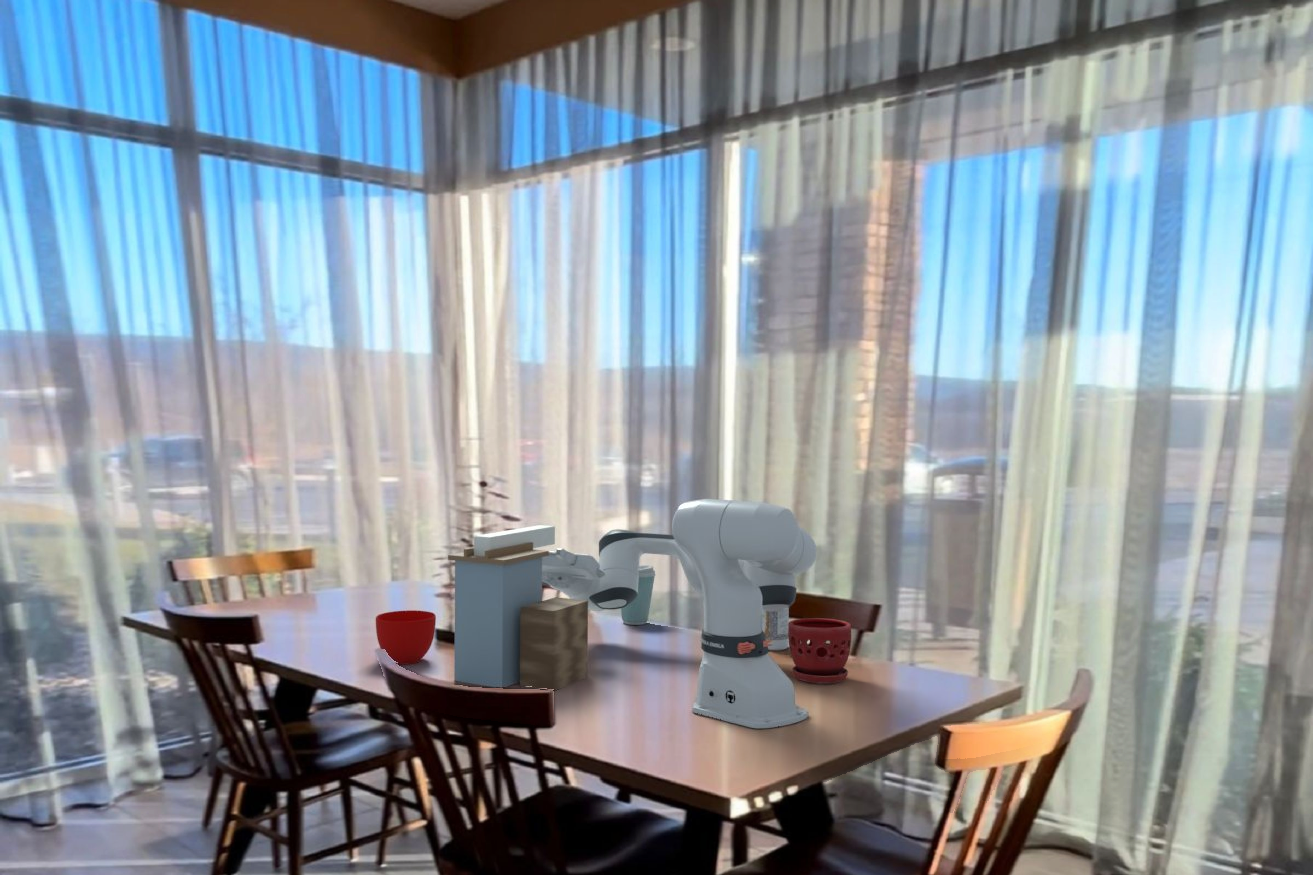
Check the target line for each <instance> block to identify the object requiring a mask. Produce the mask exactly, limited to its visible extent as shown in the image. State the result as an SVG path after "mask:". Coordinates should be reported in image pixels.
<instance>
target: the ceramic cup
mask: <svg viewBox="0 0 1313 875" xmlns="http://www.w3.org/2000/svg"><path fill="white" fill-rule="evenodd" d="M436 616H437V615H436V614H435V613H434V612H430V611H426V610H413V609H412V610H411V609H410V610H409V609H408V610H395V611H388V612H384V613H383V612H382V613H380V614H378V615H376V616H375V631H376V638H377V642H378V645H379V646H378V647H379V648H380V650H381V649H385V650H386V652H387V653H388V655H389V656H390V657H391V658H392V659H393V660H394V661H396V662H398V664H397V665H410V664H411V665H412V664H416V663H419V662H421V661H422V660H423V658H424V657H425V656H426V655H427V653H428V652H429V650H430V649H431V646H432V645H433V641H434V637H435V633H436V620H437V617H436Z"/></svg>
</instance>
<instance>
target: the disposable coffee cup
mask: <svg viewBox="0 0 1313 875" xmlns="http://www.w3.org/2000/svg"><path fill="white" fill-rule="evenodd" d="M638 576H639V581H638V595H637V597H636V599H635V600H634V601H633V602H631V603H630V604H629V605H627V606H625V607H623V608H620V615H621V616H620V617H621V620H622V623H623V624H626V625H631V626H634V625H638V626H641V625H645V624H647V622H648V620H649V617H650V616H649V615H650V610H651V609H650V608H651V602H652V594H653V589H654V583H655V582H654V581H655V576H656V570H654V566H653V565H639V574H638Z"/></svg>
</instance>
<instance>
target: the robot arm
mask: <svg viewBox="0 0 1313 875" xmlns="http://www.w3.org/2000/svg"><path fill="white" fill-rule="evenodd" d="M796 517H797V516H796V515H795V514H794V513H793V512H792V510H790V509H789V508H786V507H783V506H780V505H777V504H772V503H768V502H760V501H747V500H746V501H744V500H731V499H729V500H728V499H714V498H702V499H695V500H691V501H689V500H688V501H685V502H683V503H682V504H681V505H680V506H678V508H677V509H676V510H675V513H674V515H673V518H672V521H671V522H672V523H671V533H672V534H669V533H668V534H666V533H664V534H663V533H652V532H651V533H650V532H637V531H632V530H626V529H619V528H618V529H611V530H609V531H608V532H607V533H605V534H604V535H603V536H602V537H601V539H599V541H598V557H599V558H598V559H599V560H597V559H596V558H595V557H594V556H593V555H589V554H586V553H575V552H570V551H568V550H566V549H564V548H559V547H558V548H556V551H550V550H548V551H549V556H544V557H542V586H546V587H549V588H552V589H554V590H556V591H558V592H561V593H562V594H564V595H565V596H568V597H569V599H577V600H586V601H588V611H592V612H601V611H604V610H618V609H620V610H621V608H623V607H625V606H627V605H629V604H630V603H631V602H633V601H634V600H635V599H636V597H637V595H638V581H639V576H638V574H639V566H640V558H641V556H643V555H644V554H649V555H651V554H652V555H663V556H673V557H676V558H678V560H679V563H680V564H681V567H682V569H683V572H684V575H685V577H686V579H687V581H688V582H689V584H690V586H691V587H692V589H694V591H695V592H697V593H698V594H699V595H700V596H701V595H702V599H703V629H702V630H701V637H700V642H701V644H700V645H701V647H700V648H701V650H702V651H703V653H702V659H701V662H700V666H699V669H698V678H697V688H696V695H695V696H696V697H695V699H694V702H693V705H692V708H691V709H692V710H691V712H692V713H694V714H697V713H698V715H701V714H702V716H706V717H708V716H709V718H712V717H713V719H716V718H717V720H720V719H721V721H725V722H727V723H732V724H734V725H735V724H736V725H739V726H744V727H748V728H751V729H770V728H771V729H772V728H778V726H779V727H784V726H789V725H792V724H795V723H798V722H801V721H803V720H805V719H807V718H808V717H809V710H808V709H806V708H803V707H801V706H799V705H797V704H796V691H795V687H794V683H793V682H792V680H791V679H790V678H789V677H788V676H787V674H786V673H785V672H784V671H783V670H782V668H781V667H780V666H779V665H778V664H777V662H776V661H775V660H774V658H773V657H771V655H770V654H769V651H770V650H769V649H768V646H772V644H768V643H770V642H772V641H773V640H766V638H765V634H764V632H763V631H762V610H764V611H768V612H776V611H780V610H783V609H785V608H788V607H789V608H790V607H791V606H792V605H793V604H794V603H795V602H796V597H797V587H796V577H797V576H796V575H800V574H803V573H805V572H807V571H808V570H809V569H810V568H811V567H813V565H814V564H815V561H816V559H817V555H818V552H817V551H818V550H817V545H816V543H815V540H814V539H813V537H812V536H811V535H810V534H809V532H807V531H806V530H805V529H803V528H802V527H800V525H799V523H798V519H797V518H796ZM767 644H768V645H767Z"/></svg>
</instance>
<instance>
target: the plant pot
mask: <svg viewBox="0 0 1313 875" xmlns="http://www.w3.org/2000/svg"><path fill="white" fill-rule="evenodd" d="M808 641H809V643H808ZM828 642H829V643H828ZM851 645H852V625H851V623H850V622H847V621H845V620H840V619H835V618H819V617H818V618H814V617H813V618H799V619H794V620H790V621H789V624H788V648H789V653H790V655H791V660H792V661H793V664H794V666H793V667H792V669H791V672H792V675H793V676H794V677H795V678H796V679H798V680H801V681H803V682H806V683H810V684H811V683H813V684H820V685H821V684H830V683H831V684H830V685H833V683H834V684H836V683H838V682H841V681H844V680H845V679H846V678H847V676H848V675H849V671H848V669H846V668H845V666H846V664H847V661H848V659H849V656H850V651H851Z"/></svg>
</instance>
